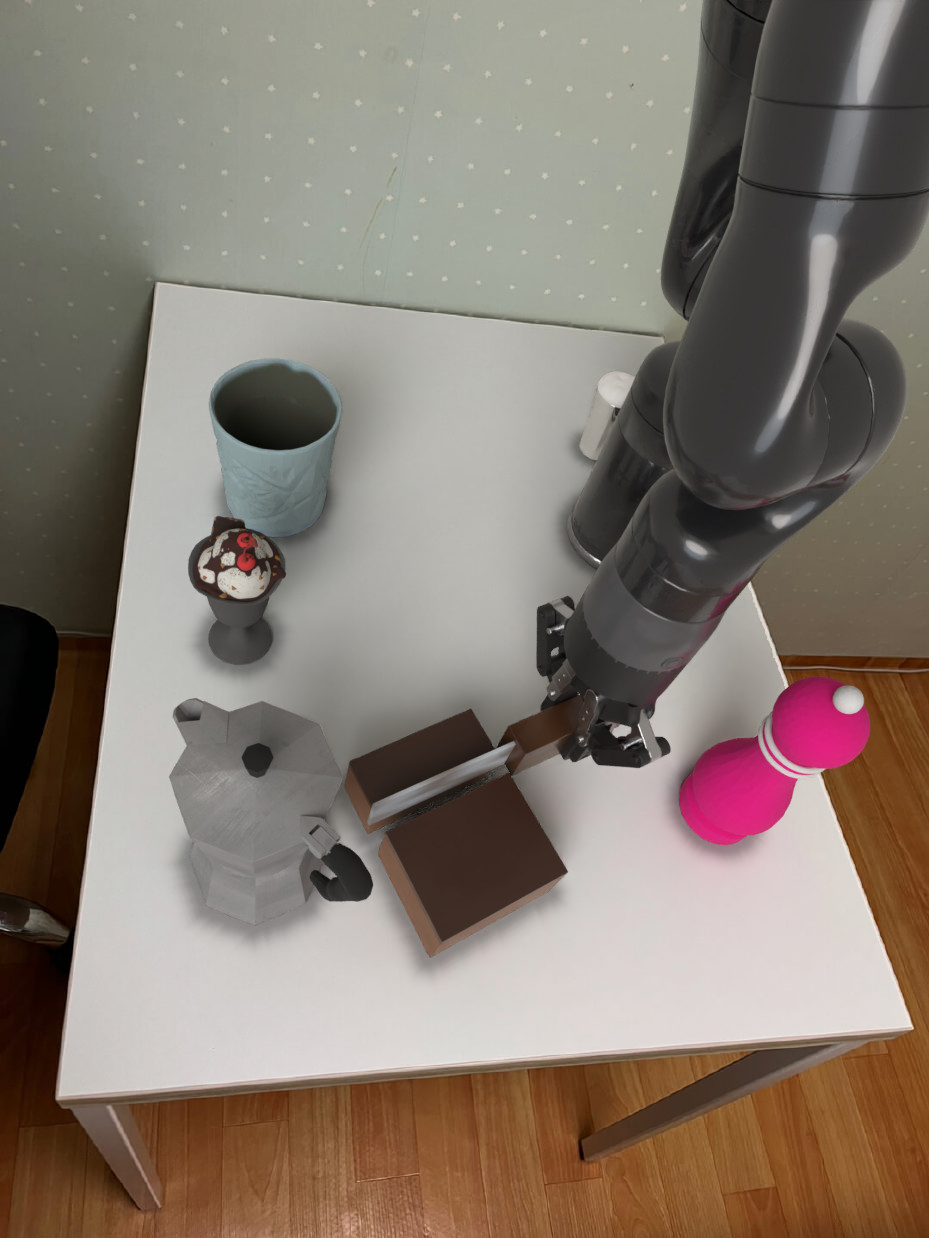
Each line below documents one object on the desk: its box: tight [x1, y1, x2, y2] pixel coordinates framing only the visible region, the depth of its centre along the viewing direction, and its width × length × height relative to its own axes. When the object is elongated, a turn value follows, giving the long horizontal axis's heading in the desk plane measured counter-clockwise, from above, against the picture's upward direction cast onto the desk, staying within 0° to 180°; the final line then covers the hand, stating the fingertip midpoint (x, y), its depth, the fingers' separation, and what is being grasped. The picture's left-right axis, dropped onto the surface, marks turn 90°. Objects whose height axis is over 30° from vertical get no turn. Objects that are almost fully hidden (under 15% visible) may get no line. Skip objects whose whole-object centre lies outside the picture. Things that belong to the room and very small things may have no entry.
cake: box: [377, 772, 569, 959], centre depth 61 cm, size 10×8×5 cm
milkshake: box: [578, 371, 635, 461], centre depth 84 cm, size 4×5×10 cm
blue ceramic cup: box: [208, 358, 343, 538], centre depth 72 cm, size 10×10×12 cm
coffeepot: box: [168, 697, 374, 926], centre depth 53 cm, size 15×9×18 cm, turn 49°
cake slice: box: [343, 708, 496, 835], centre depth 63 cm, size 10×4×5 cm, turn 120°
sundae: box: [187, 515, 287, 666], centre depth 63 cm, size 7×7×15 cm
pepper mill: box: [678, 676, 871, 846], centre depth 61 cm, size 7×7×20 cm
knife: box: [367, 694, 621, 825], centre depth 62 cm, size 21×2×4 cm, turn 119°
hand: (561, 734), depth 66 cm, fingers closed on knife, 2 cm apart
